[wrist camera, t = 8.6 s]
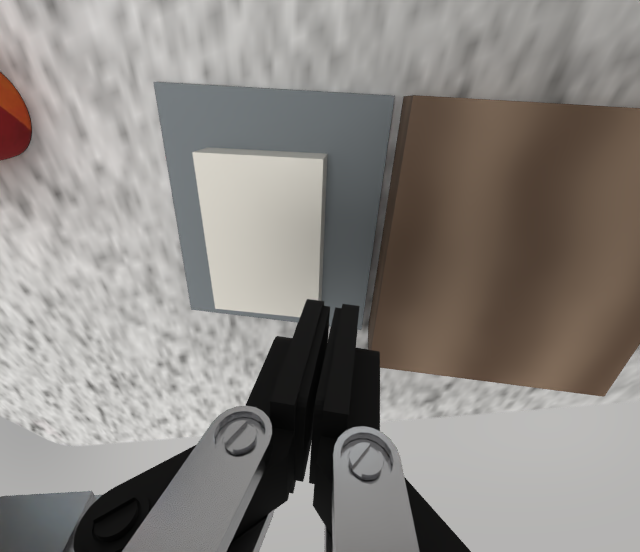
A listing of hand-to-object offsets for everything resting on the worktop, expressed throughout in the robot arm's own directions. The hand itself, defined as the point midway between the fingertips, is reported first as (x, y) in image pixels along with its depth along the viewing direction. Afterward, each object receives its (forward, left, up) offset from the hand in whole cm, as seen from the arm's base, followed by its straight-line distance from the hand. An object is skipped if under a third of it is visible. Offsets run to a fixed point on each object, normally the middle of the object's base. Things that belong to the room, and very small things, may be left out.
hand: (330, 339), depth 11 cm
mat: (+5, 0, -11) cm, 12 cm away
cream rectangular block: (+5, +1, -9) cm, 10 cm away
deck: (-9, 0, -11) cm, 15 cm away
